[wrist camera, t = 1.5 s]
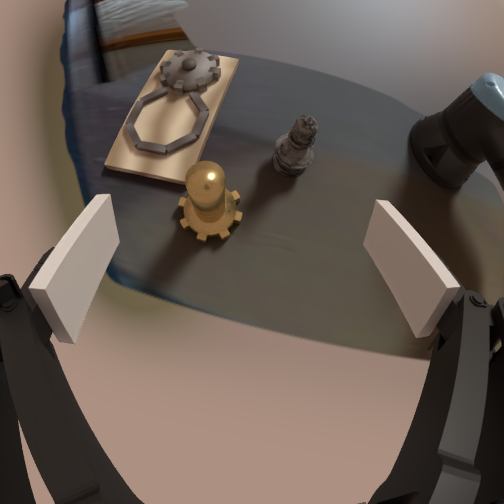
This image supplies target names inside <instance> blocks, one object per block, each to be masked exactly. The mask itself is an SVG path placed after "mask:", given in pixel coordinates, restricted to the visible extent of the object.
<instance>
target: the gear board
mask: <svg viewBox="0 0 504 504" xmlns="http://www.w3.org/2000/svg"><path fill="white" fill-rule="evenodd" d="M238 65H239V59H235V58H229V57H223V56H217V55H216V54H214V55H210V54H208V53H206V52H204V49H203V48H196V50H192V51H182V50H179V51H175V50H167V52H166V53H165V55H164V56H163V58H162V59H161V61H160V62H159V64H158V65H157V67H156V68H155V70H154V71H153V73H152V75H151V76H150V78H149V79H148V81H147V83H146V84H145V86H144V88H143V89H142V91H141V93H140V95H139V96H138V98H137V100H136V102H135V103H134V105H133V107H132V109H131V111H130V113H129V114H128V116H127V118H126V120H125V122H124V124H123V126H122V128H121V130H120V132H119V134H118V136H117V138H116V140H115V142H114V144H113V146H112V149H111V151H110V153H109V155H108V157H107V160H106V162H105V164H104V165H105V166H106V167H107V168H108V169H112V170H117V171H122V172H127V173H132V174H136V175H141V176H146V177H150V178H155V179H160V180H164V181H168V182H173V183H177V184H181V185H185V176H186V173H187V171H188V169H189V168H190V167H191V166H192V165H194V164H195V163H198V162H199V160H200V157H201V154H202V152H203V149H204V146H205V144H206V141H207V139H208V136H209V133H210V131H211V128H212V126H213V123H214V121H215V118H216V116H217V113H218V111H219V109H220V106H221V104H222V101H223V99H224V97H225V94H226V92H227V90H228V87H229V85H230V83H231V80H232V78H233V76H234V74H235V72H236V69H237V67H238Z"/></svg>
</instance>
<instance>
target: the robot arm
mask: <svg viewBox="0 0 504 504" xmlns="http://www.w3.org/2000/svg"><path fill="white" fill-rule="evenodd" d="M411 144H412V148H413V151H414V154H415V156H416V158H417V160H418V162H419V164H420V165H421V167H422V168H423V170H424V171H425V172H426V173H427V174H428V176H429V177H430V178H431V179H433V180H434V181H435V182H436V183H438V184H439V185H441V186H443V187H446V188H456V187H458V186H460V185H462V184H464V183H465V182H466V181H467V180H468V179H469V177H470V175H471V174H472V173H473V172H474V170H475V169H476V168H477V166H478V165H479V164H480V163H482V162H484V161H485V160H487V162H488V163H489V165H490V166H491V168H492V170H493V172H494V173H495V175H496V177H497V179H498V181H499V183H500V185H501V187H502V189H503V190H504V79H503V78H502V77H500V76H499V75H496V74H494V73H486V74H484V75H482V76H481V77H480V78H479V79H477V80H476V81H473V82H472V83H471V84H470V87H469V88H468V89H467V90H466V91H465V92H463V93H462V94H461V95H460V96H459V97H458V98H457V99H456V100H455V101H453V102H452V103H451V104H450V105H449V106H448V107H447V108H446V109H444V110H443V111H441V112H438V113H436V114H434V115H431V116H425V117H423V118H421V119H420V120H419V121H418V122H417V123H416V124H415V125H414V126H413V128H412V130H411ZM119 242H120V241H119V237H118V232H117V227H116V223H115V218H114V212H113V207H112V201H111V196H110V194H102V195H96V196H95V197H94V199H93V200H92V201H91V202H90V203H89V204H88V206H87V207H86V208H85V209H84V210H83V212H82V213H81V214H80V216H79V217H78V218H77V219H76V220H75V222H74V223H73V224H72V226H71V227H70V228H69V230H68V231H67V232H66V234H65V235H64V236H63V237H62V239H61V240H60V242H59V243H58V244H57V246H56V247H52V248H51V249H50V250H48V251H47V252H46V253H45V254H44V255H43V256H42V258H41V259H40V261H39V262H38V264H37V265H36V266H35V268H34V271H32V272H31V274H30V275H29V277H28V278H27V280H26V281H25V283H24V285H23V286H22V288H21V289H20V288H19V286H18V284H17V282H16V280H15V278H14V276H13V275H11V274H4V275H1V276H0V504H36V502H35V499H34V496H33V492H32V489H31V485H30V481H29V478H28V473H27V469H26V465H25V460H24V455H23V450H22V444H21V438H20V431H19V425H18V420H19V422H20V426H21V428H22V431H23V434H24V437H25V439H26V442H27V445H28V447H29V449H30V452H31V455H32V457H33V459H34V461H35V464H36V466H37V468H38V470H39V472H40V474H41V477H42V479H43V481H44V483H45V485H46V487H47V488H48V490H49V492H50V494H51V496H52V498H53V500H54V502H55V504H144V503H143V502H142V501H141V500H139V499H138V498H137V497H136V495H135V494H134V493H133V492H132V491H131V489H130V488H129V486H128V485H127V484H126V483H125V481H124V480H123V478H122V477H121V475H120V474H119V473H118V471H117V470H116V468H115V467H114V465H113V464H112V462H111V461H110V459H109V458H108V456H107V455H106V453H105V452H104V450H103V448H102V447H101V445H100V443H99V442H98V440H97V438H96V437H95V435H94V433H93V431H92V430H91V428H90V426H89V424H88V422H87V420H86V419H85V417H84V415H83V413H82V411H81V409H80V407H79V405H78V403H77V401H76V399H75V397H74V395H73V393H72V390H71V388H70V386H69V384H68V381H67V379H66V377H65V375H64V372H63V370H62V367H61V365H60V362H59V360H58V357H57V355H56V352H55V349H54V346H53V344H52V343H51V341H50V337H51V335H52V332H53V333H54V335H55V336H56V338H57V339H58V341H59V342H64V343H70V344H75V342H76V340H77V337H78V334H79V332H80V329H81V326H82V324H83V321H84V318H85V316H86V314H87V311H88V309H89V307H90V304H91V301H92V299H93V297H94V295H95V293H96V290H97V288H98V286H99V283H100V281H101V279H102V277H103V275H104V273H105V270H106V268H107V266H108V264H109V262H110V260H111V258H112V256H113V254H114V252H115V250H116V248H117V246H118V244H119ZM363 245H364V247H365V248H366V250H367V251H368V253H369V255H370V256H371V258H372V260H373V261H374V263H375V264H376V266H377V268H378V270H379V271H380V273H381V275H382V276H383V278H384V280H385V281H386V283H387V285H388V287H389V288H390V290H391V292H392V294H393V296H394V297H395V299H396V301H397V303H398V305H399V306H400V308H401V310H402V312H403V314H404V316H405V318H406V320H407V321H408V323H409V325H410V327H411V329H412V331H413V333H414V335H415V337H416V338H421V337H426V336H430V334H431V333H432V331H433V330H434V328H435V327H436V326H437V328H438V329H439V331H440V332H439V333H438V335H437V336H436V337H435V339H434V340H433V342H432V343H431V344H430V346H429V347H428V349H427V350H430V349H431V348H432V347H433V346H434V348H433V351H432V357H431V361H430V365H429V369H428V373H427V376H426V380H425V383H424V387H423V390H422V394H421V397H420V400H419V403H418V406H417V409H416V412H415V415H414V418H413V420H412V423H411V426H410V429H409V431H408V434H407V436H406V439H405V441H404V444H403V446H402V448H401V451H400V453H399V456H398V458H397V460H396V462H395V464H394V466H393V469H392V471H391V473H390V475H389V476H388V478H387V479H386V481H385V482H384V483H383V484H382V485H380V486H379V488H378V489H377V490H376V491H375V493H374V494H373V496H372V497H371V499H370V501H369V502H368V504H504V298H503V297H502V298H500V299H499V300H498V302H497V303H496V305H495V306H493V305H489V304H488V303H487V301H486V300H485V298H484V297H483V296H482V295H481V294H479V293H478V292H476V291H473V290H467V291H466V289H465V288H464V286H463V285H462V284H461V282H460V281H459V280H458V278H457V277H456V276H455V274H454V273H453V272H452V271H451V269H450V268H449V267H448V265H446V263H445V262H444V260H443V259H442V258H441V257H440V256H439V255H438V254H437V253H435V252H434V251H433V250H432V249H431V248H430V247H429V246H428V244H427V243H426V242H425V241H424V240H423V239H422V237H421V236H420V235H419V234H418V233H417V232H416V231H415V229H414V228H413V227H412V226H411V225H410V224H409V223H408V222H407V220H406V219H405V218H404V217H403V216H402V215H401V214H400V213H399V212H398V211H397V210H396V209H395V208H394V206H393V205H392V204H391V203H390V202H389V201H384V200H376V202H375V205H374V209H373V213H372V216H371V220H370V223H369V226H368V230H367V233H366V236H365V240H364V243H363ZM500 340H501V343H502V346H501V348H500V349H499V350H498V351H497V352H495V347H496V345H497V344H498V343H499V342H500ZM360 504H366V502H363V503H360Z"/></svg>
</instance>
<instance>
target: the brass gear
mask: <svg viewBox="0 0 504 504" xmlns="http://www.w3.org/2000/svg"><path fill="white" fill-rule="evenodd" d="M185 185H186V188H187V190H188V193H189V195H188V197H187V198H183V197H181V198H180V201H179V204H178V206H179V208H180V209H182V210H184V216H185V218H183V219H182V220H180V223H181V224H182V226H183V228H184V230H185V231H187V230H189V229H192V230H193V231H194V232H195V233H197V234H198V235H197V238H196V239H197V240H198V241H200V242H203V243H206V242H207V239H208V237H217V236H220V238H221V240H222V241H223V240H225V239H227V238H229V237H230V233H229V231H228V230H229V229H230V228H231V227H232V225H233V223H236V224H240V221H241V218H242V212H238V211H236V209H237V208H236V203H238V202H240V196H239V194H238V193H237V191H236V190H235V191H233V192H231V193H230V192H229V191H228V190H227V189H226V188H225V175H224V172H223V170H222V168H221V167H220V166H219V165H218V164H216V163H214V162H211V161H201V162H198V163H195V164H194V165H192V166H191V167H190V168H189V169H188V171H187V173H186V176H185Z"/></svg>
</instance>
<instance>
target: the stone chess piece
mask: <svg viewBox="0 0 504 504" xmlns="http://www.w3.org/2000/svg"><path fill="white" fill-rule="evenodd" d="M317 130H318V124H317V122H316V120H315V119H314V118H312V117H311V116H307V115H303V116H300V117H299V118H298V119H297V120H296V122H295V125H294V126H293V127H292V128H291V129H290V130H289V132H288V134H285V135H282V136H281V137H279V138H278V140H277V141H276V143H275V146H274V151H275V153H274V155H273V165H274V167H275V169H276V170H277V171H278V172H279V173H280V174H282V175H284V176H287V177H297V176H299V175H301V174H302V173H303V172H304V171H305V169H306V167H308V166H309V165H311V163H312V162H313V160H314V158H315V150H314V147H313V144H314V141H315V137H314V136H315V134H316V132H317Z"/></svg>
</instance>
